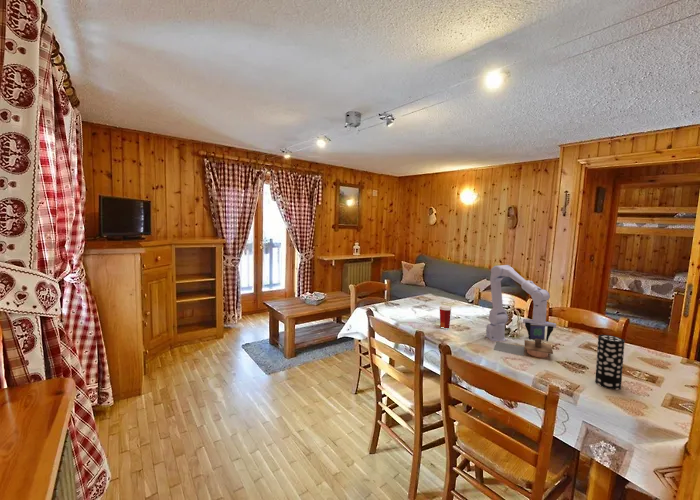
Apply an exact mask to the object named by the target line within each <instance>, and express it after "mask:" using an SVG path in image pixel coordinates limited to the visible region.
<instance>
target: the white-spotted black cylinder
mask: <svg viewBox="0 0 700 500" xmlns="http://www.w3.org/2000/svg"><path fill="white" fill-rule="evenodd" d="M624 351H625V339H624V338H621V337H618V336H615V335H609V334H599V335H598V336H597V351H596V363H595V379H594V383H595V384H597V385H598V384H599V385H598V386H600V385H601V386H600V387H602V386H603V388H604V389H605V388H606V389H608V390H609V389H610V390H614V391H618V390H621V389H622V380H623V369H624V368H623V365H624V356H625V355H624V353H625V352H624Z"/></svg>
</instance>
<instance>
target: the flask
mask: <svg viewBox="0 0 700 500" xmlns="http://www.w3.org/2000/svg"><path fill="white" fill-rule="evenodd" d="M545 337H546V326H540V325H534V324H531V327H530V338H529V335H528V337H527V338H529V339H528V340H531V339H533V340H534V341H535V338H537V339H541V341H542V340H546V338H545ZM533 340H532V341H533Z"/></svg>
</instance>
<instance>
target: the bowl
mask: <svg viewBox="0 0 700 500" xmlns="http://www.w3.org/2000/svg"><path fill="white" fill-rule="evenodd" d="M526 350H527V349H526ZM526 352H527V354H528V355H530V356H532V357H536V358H545V359H546V358H548V357H549V353H544V352H538V351H533V350H527V351H526Z"/></svg>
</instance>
